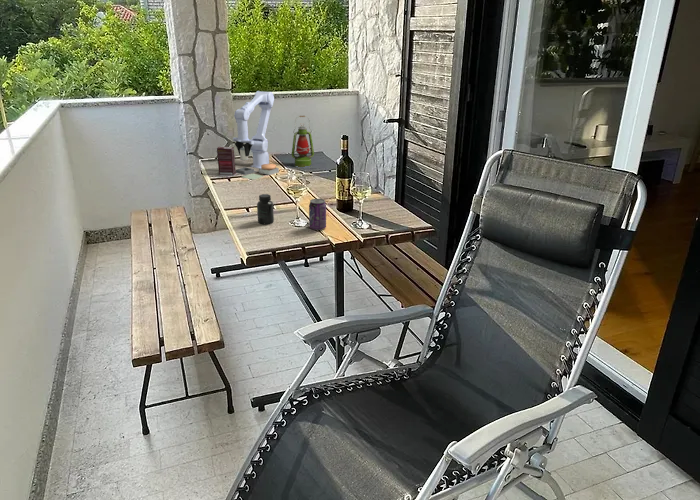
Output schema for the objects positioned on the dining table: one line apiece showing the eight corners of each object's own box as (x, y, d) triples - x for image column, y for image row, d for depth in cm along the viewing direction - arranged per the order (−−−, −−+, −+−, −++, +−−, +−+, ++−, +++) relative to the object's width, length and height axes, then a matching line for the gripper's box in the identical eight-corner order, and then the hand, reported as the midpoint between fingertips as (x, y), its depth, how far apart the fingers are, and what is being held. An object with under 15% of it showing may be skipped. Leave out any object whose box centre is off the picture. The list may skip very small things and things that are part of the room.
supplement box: (236, 174, 300) (234, 146, 294) (233, 176, 296) (231, 148, 290) (221, 174, 301) (219, 146, 295) (218, 176, 297) (216, 148, 290)
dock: (245, 169, 312) (244, 166, 311) (257, 172, 306) (257, 169, 306) (232, 172, 304) (232, 169, 303) (245, 175, 299) (245, 172, 298)
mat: (252, 174, 301) (252, 173, 301) (264, 177, 297) (264, 176, 297) (241, 177, 295) (241, 176, 294) (253, 180, 290) (253, 179, 290)
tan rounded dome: (268, 170, 310) (268, 163, 308) (279, 172, 305) (279, 165, 304) (258, 172, 303) (258, 165, 302) (269, 175, 299) (269, 168, 297)
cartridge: (244, 158, 305) (243, 147, 303) (249, 159, 303) (249, 148, 300) (238, 159, 302) (238, 148, 299) (244, 160, 299) (243, 149, 297)
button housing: (268, 170, 310) (268, 165, 308) (278, 173, 305) (278, 167, 304) (259, 173, 303) (258, 168, 302) (269, 175, 299) (269, 170, 298)
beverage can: (309, 225, 226) (308, 198, 222) (325, 225, 227) (325, 198, 222) (309, 231, 220) (309, 203, 215) (326, 230, 220) (326, 203, 216)
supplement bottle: (264, 218, 233) (263, 192, 228) (277, 221, 230) (276, 195, 225) (254, 223, 228) (253, 196, 223) (267, 226, 224) (266, 199, 220)
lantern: (312, 163, 329) (311, 113, 317) (316, 167, 319) (316, 116, 308) (290, 164, 325) (288, 114, 313) (293, 168, 316) (292, 117, 304)
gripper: (228, 130, 297) (229, 154, 302) (247, 133, 289) (248, 158, 295) (237, 129, 302) (238, 152, 307) (256, 132, 295) (257, 156, 300)
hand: (244, 155), depth 301 cm, fingers closed on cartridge, 4 cm apart
